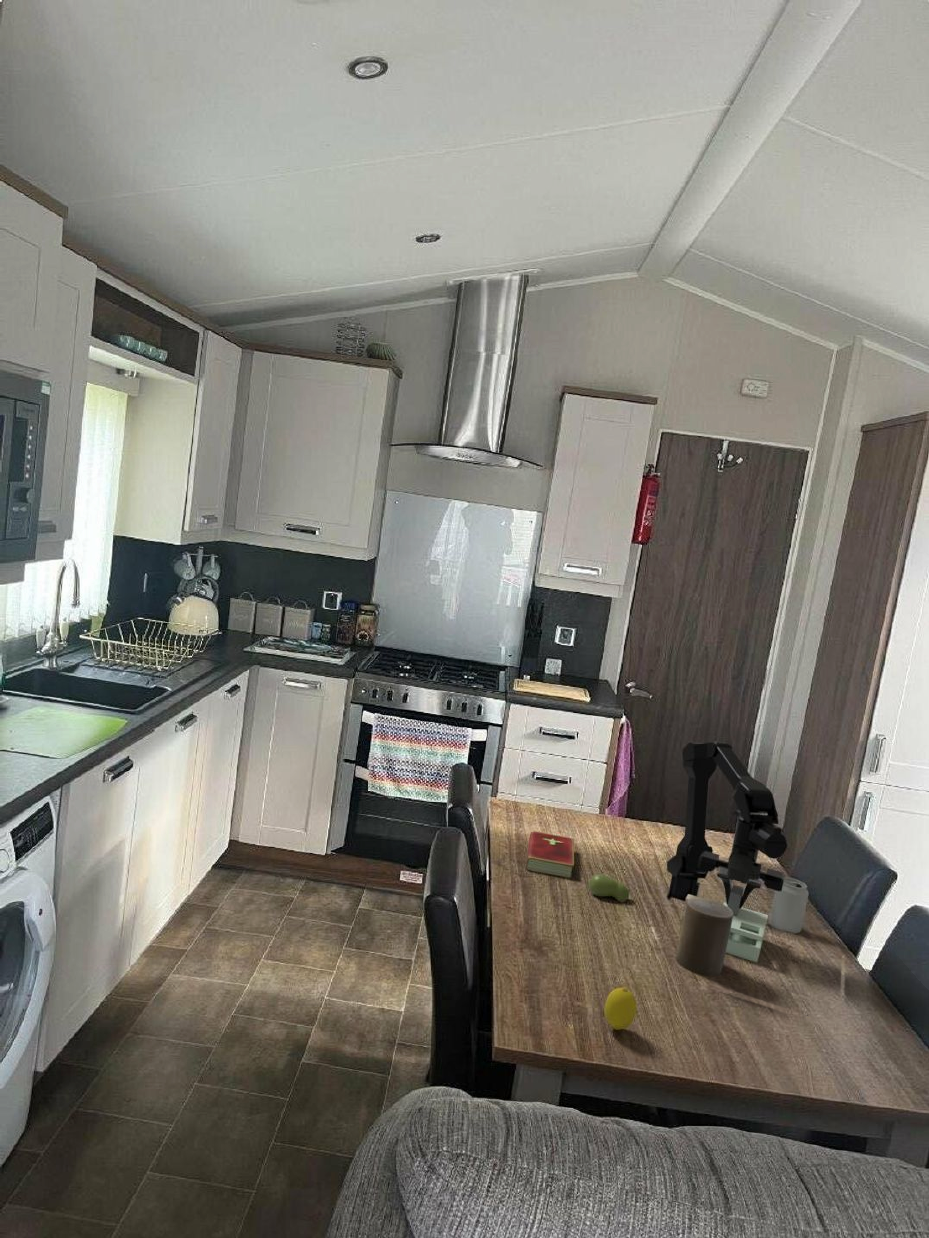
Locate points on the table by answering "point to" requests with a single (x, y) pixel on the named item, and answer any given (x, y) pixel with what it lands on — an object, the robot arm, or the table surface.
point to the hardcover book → (550, 854)
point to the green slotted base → (745, 916)
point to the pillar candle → (704, 936)
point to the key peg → (685, 908)
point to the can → (789, 906)
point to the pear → (608, 887)
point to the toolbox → (744, 946)
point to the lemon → (620, 1008)
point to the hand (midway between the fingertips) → (733, 906)
